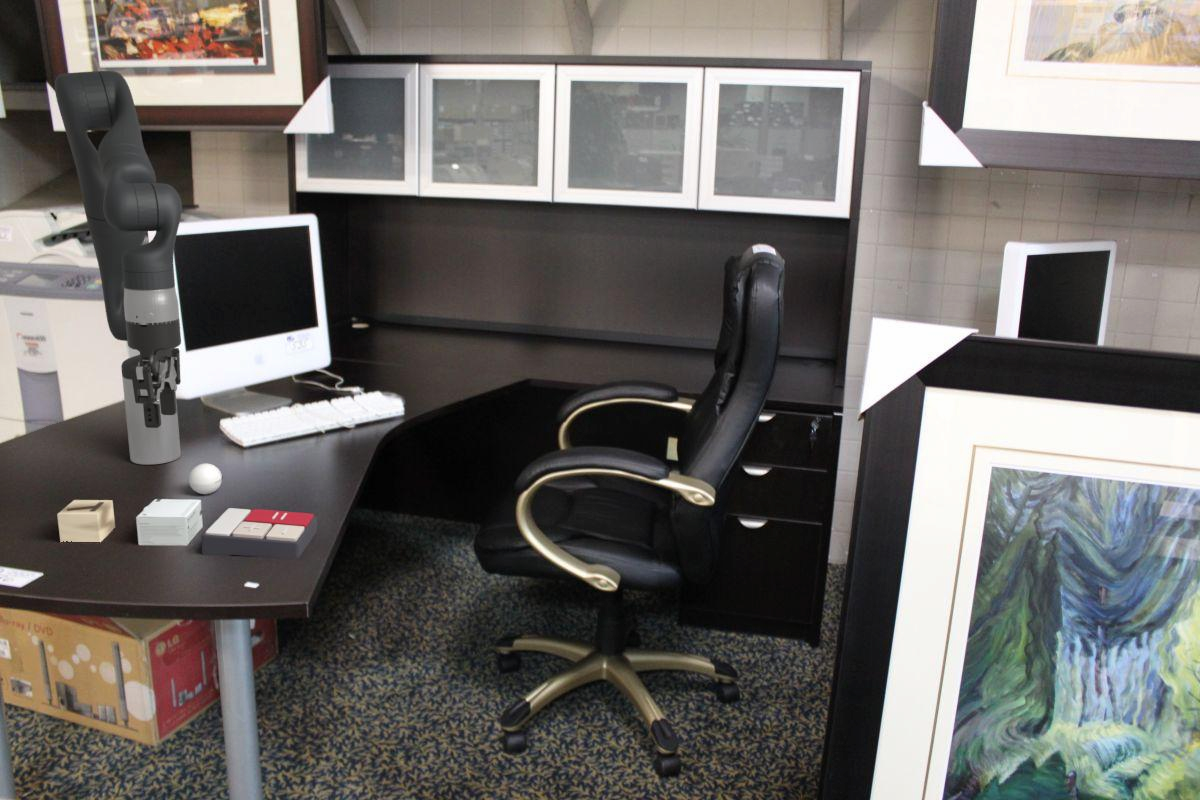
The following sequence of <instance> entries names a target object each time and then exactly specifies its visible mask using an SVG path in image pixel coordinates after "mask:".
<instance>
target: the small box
mask: <svg viewBox="0 0 1200 800" xmlns="http://www.w3.org/2000/svg"><path fill="white" fill-rule="evenodd" d="M202 512H203V511H202V500H201V499H190V498H189V499H174V498H173V499H172V498H171V499H170V498H156V499H154V500H152V501H151V502H150V503H149V504H148V505H147V506H144V507H143V510H142V511H141V512H140V513H139V514H138V515H137V516H136V517H135V521H136V522H135V523H136V531H137V532H136V533H137V542H138V546H185V547H186V546H189V543H190V542H191V541H192V540H193V539H194V537H195V536H196V535H197V534H198V533H199V532H200V531H201V529H203V528H204V527H203V523H204V522H203V513H202Z"/></svg>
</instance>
